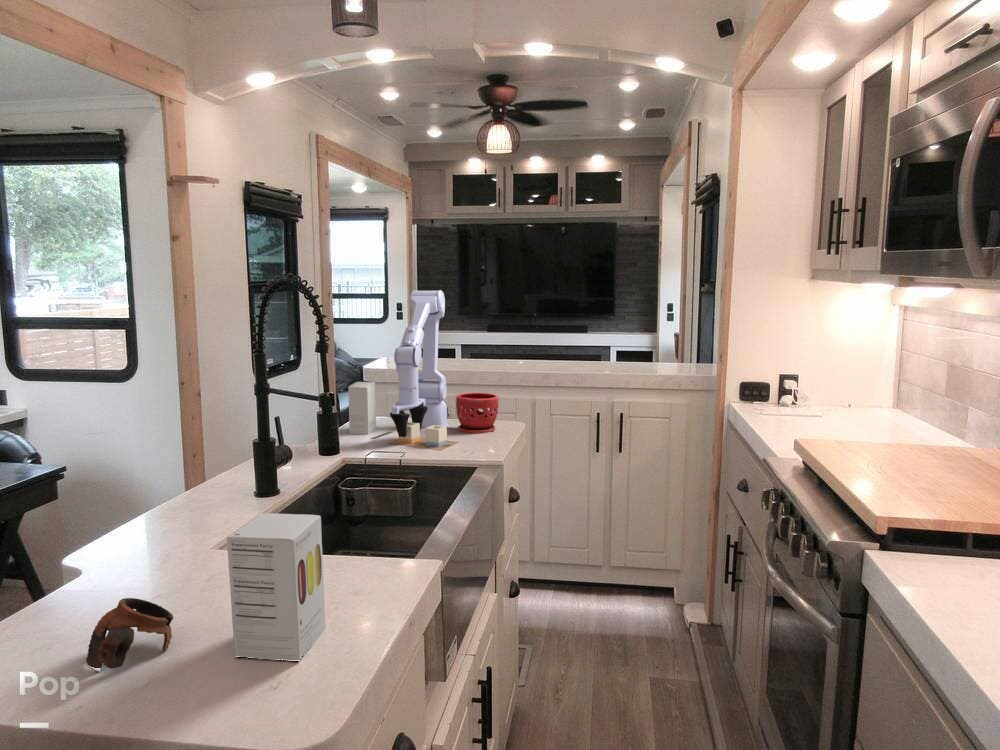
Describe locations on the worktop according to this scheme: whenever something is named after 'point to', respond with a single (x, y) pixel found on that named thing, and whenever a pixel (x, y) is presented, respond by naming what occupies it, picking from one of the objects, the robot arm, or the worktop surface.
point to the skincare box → (362, 408)
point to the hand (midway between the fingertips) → (409, 433)
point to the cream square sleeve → (411, 433)
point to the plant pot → (476, 412)
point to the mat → (381, 435)
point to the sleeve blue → (436, 435)
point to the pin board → (423, 444)
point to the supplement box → (276, 585)
